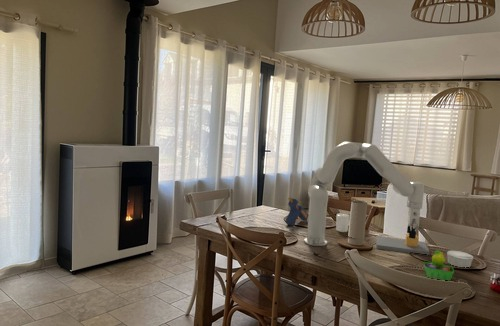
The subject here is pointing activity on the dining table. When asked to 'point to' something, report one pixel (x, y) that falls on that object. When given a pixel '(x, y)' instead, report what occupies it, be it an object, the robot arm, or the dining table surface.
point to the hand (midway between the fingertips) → (410, 235)
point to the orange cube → (411, 241)
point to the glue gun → (295, 212)
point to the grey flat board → (400, 245)
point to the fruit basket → (438, 267)
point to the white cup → (342, 222)
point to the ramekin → (459, 258)
